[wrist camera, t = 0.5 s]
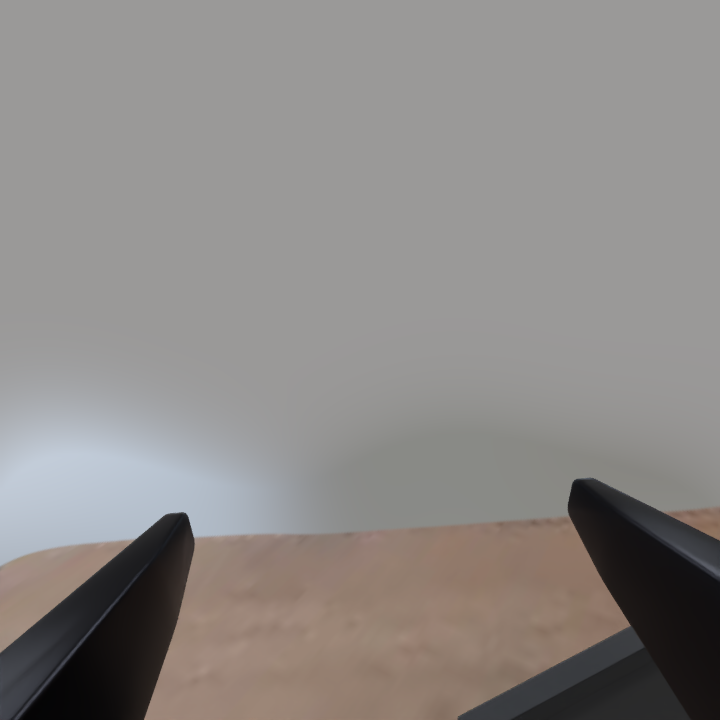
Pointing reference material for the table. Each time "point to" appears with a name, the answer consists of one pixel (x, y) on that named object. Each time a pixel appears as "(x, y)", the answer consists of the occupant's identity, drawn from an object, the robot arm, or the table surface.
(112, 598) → the robot arm
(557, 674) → the open storage bin
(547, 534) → the table surface
